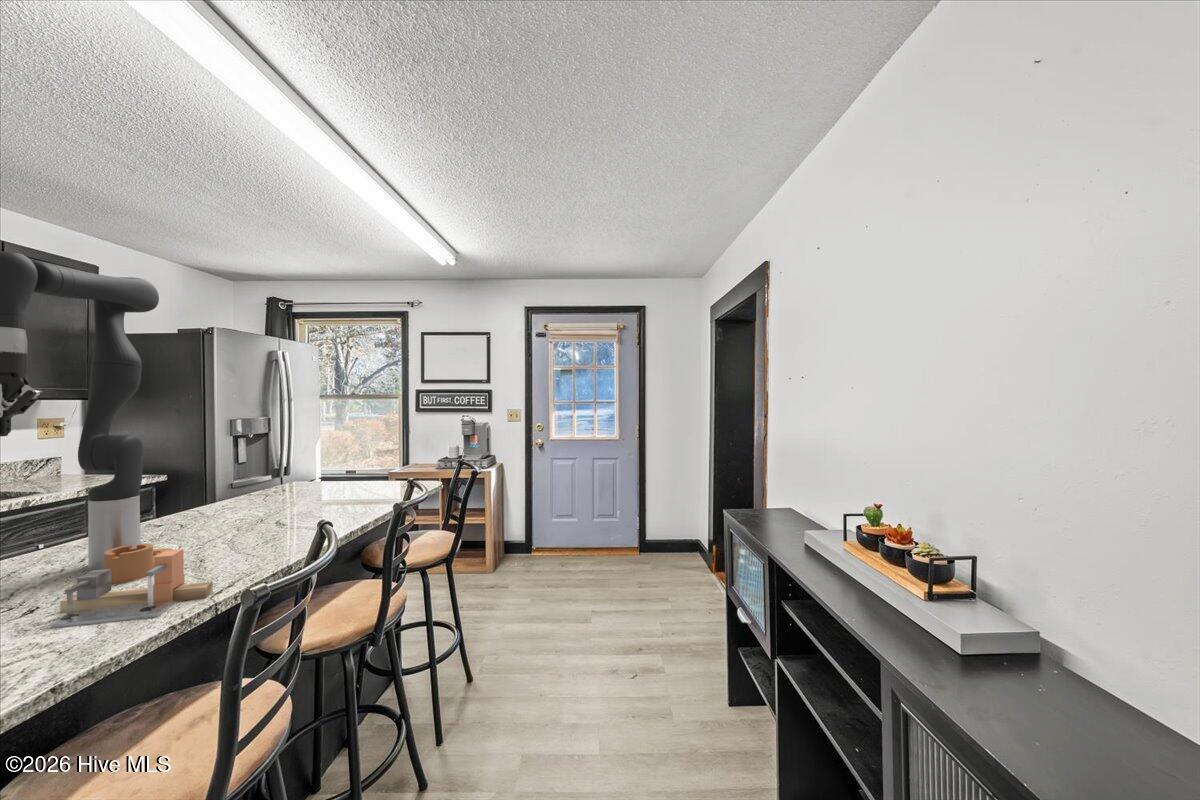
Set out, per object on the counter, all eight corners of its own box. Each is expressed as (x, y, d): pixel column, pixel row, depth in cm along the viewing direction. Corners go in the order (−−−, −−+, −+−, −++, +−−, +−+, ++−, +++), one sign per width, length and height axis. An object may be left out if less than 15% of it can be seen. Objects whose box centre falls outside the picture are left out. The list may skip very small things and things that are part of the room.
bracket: (141, 582, 110) (141, 552, 110) (95, 586, 107) (95, 556, 107) (179, 557, 127) (179, 531, 127) (139, 560, 124) (139, 534, 124)
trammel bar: (74, 605, 97) (74, 571, 97) (214, 591, 104) (214, 560, 104) (37, 626, 88) (37, 589, 88) (192, 609, 95) (192, 575, 95)
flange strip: (73, 616, 93) (73, 610, 93) (174, 605, 97) (174, 600, 97) (48, 630, 87) (48, 624, 87) (157, 618, 92) (157, 613, 92)
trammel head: (167, 595, 102) (167, 549, 102) (184, 593, 103) (184, 548, 103) (139, 614, 93) (139, 564, 93) (158, 612, 94) (158, 563, 94)
